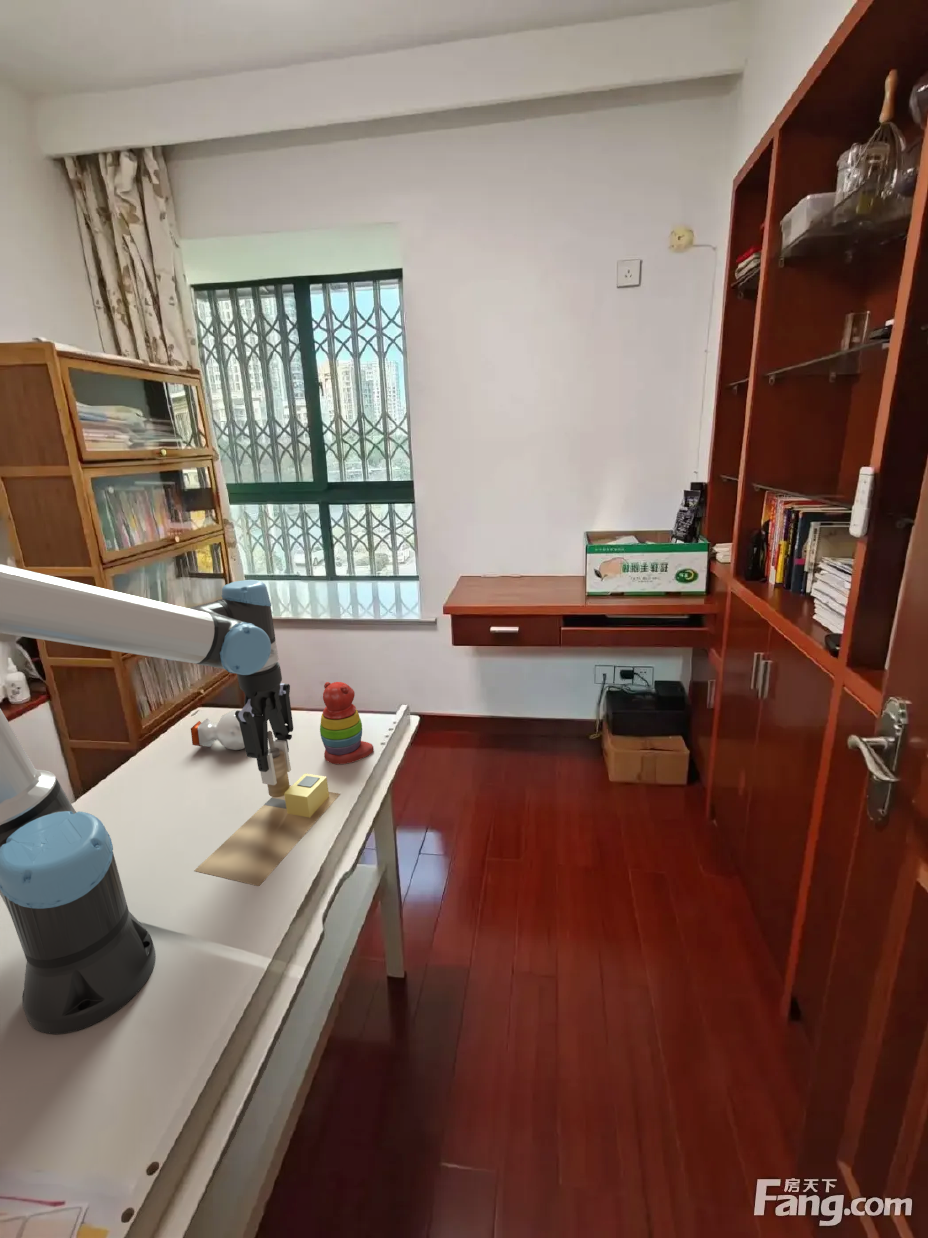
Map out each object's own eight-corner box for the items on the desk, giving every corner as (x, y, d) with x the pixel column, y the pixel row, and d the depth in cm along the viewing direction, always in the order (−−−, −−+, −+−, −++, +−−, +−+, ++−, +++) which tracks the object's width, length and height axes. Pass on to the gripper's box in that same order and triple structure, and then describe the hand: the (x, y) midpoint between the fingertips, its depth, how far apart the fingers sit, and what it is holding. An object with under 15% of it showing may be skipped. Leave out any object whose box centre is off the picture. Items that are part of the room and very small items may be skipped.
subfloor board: (273, 895, 93) (272, 889, 92) (183, 873, 98) (182, 868, 98) (352, 800, 116) (351, 795, 116) (276, 787, 122) (275, 782, 121)
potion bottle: (261, 755, 138) (203, 761, 140) (268, 718, 144) (213, 724, 146) (242, 738, 130) (181, 745, 132) (251, 700, 136) (192, 707, 138)
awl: (282, 798, 111) (271, 737, 107) (264, 795, 112) (253, 735, 108) (294, 786, 115) (284, 727, 111) (277, 784, 116) (266, 725, 112)
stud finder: (309, 817, 109) (306, 796, 108) (287, 813, 111) (283, 792, 110) (329, 796, 116) (326, 776, 114) (307, 792, 117) (304, 772, 116)
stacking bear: (377, 750, 135) (370, 679, 129) (346, 770, 127) (337, 696, 121) (344, 738, 141) (336, 670, 135) (312, 757, 133) (302, 686, 127)
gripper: (244, 686, 97) (266, 805, 104) (302, 649, 112) (317, 756, 119) (208, 682, 99) (231, 799, 106) (269, 647, 114) (286, 751, 121)
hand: (277, 776), depth 112 cm, fingers closed on awl, 4 cm apart
